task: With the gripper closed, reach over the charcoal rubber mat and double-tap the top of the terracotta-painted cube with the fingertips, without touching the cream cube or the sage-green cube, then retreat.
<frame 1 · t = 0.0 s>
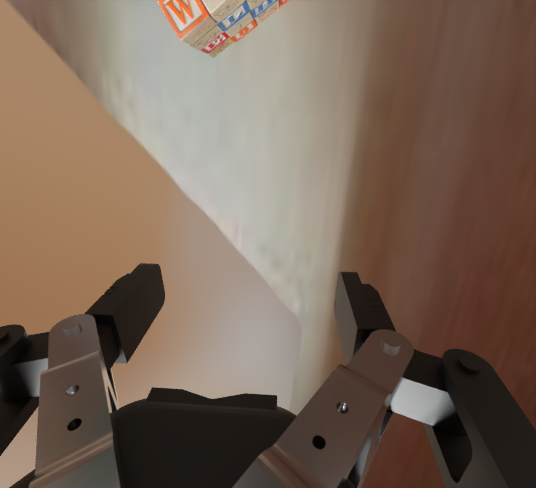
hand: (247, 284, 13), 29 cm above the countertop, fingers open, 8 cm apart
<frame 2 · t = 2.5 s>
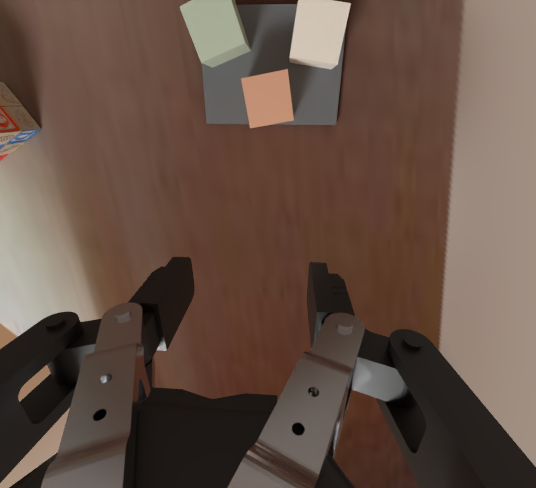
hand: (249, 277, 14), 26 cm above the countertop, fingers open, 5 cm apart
terracotta cube: (270, 100, 32), point 1 cm above the countertop, touching mat
mat: (285, 69, 32), on the countertop
cream cube: (315, 40, 30), point 1 cm above the countertop, touching mat
sage cube: (223, 35, 30), point 1 cm above the countertop, touching mat
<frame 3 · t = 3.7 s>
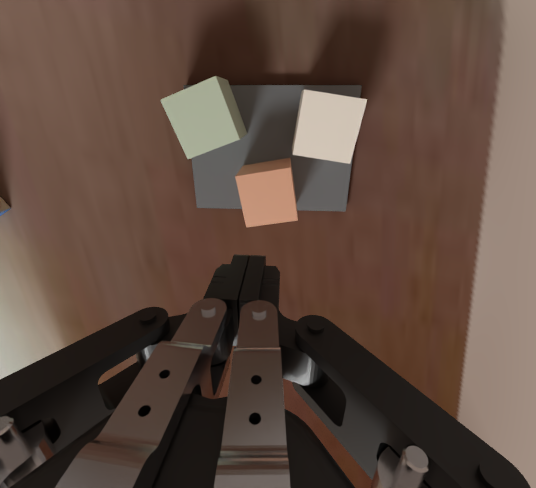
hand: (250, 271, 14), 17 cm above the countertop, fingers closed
terracotta cube: (270, 185, 28), point 1 cm above the countertop, touching mat
mat: (286, 151, 27), on the countertop
cream cube: (322, 124, 25), point 1 cm above the countertop, touching mat
sage cube: (214, 117, 26), point 1 cm above the countertop, touching mat
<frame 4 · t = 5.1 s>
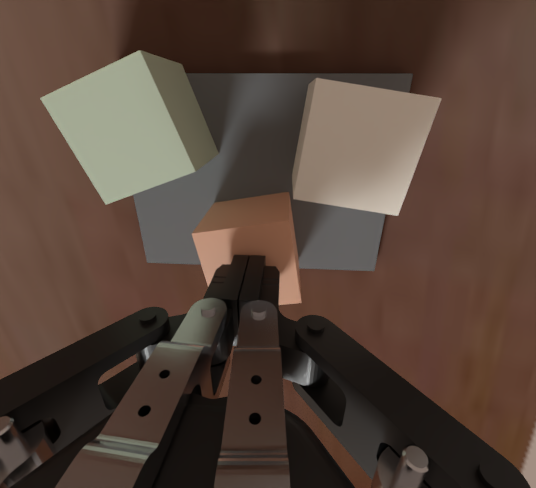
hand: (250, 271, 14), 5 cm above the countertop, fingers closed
terracotta cube: (257, 232, 18), point 1 cm above the countertop, touching gripper, mat
mat: (283, 181, 17), on the countertop
cream cube: (341, 139, 15), point 1 cm above the countertop, touching mat
sage cube: (164, 127, 16), point 1 cm above the countertop, touching mat
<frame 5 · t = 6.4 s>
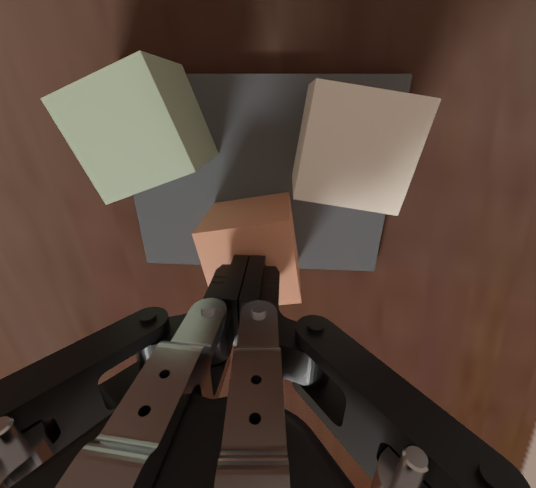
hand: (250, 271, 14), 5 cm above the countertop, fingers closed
terracotta cube: (257, 232, 18), point 1 cm above the countertop, touching gripper, mat
mat: (283, 181, 17), on the countertop
cream cube: (341, 139, 15), point 1 cm above the countertop, touching mat
sage cube: (164, 127, 16), point 1 cm above the countertop, touching mat
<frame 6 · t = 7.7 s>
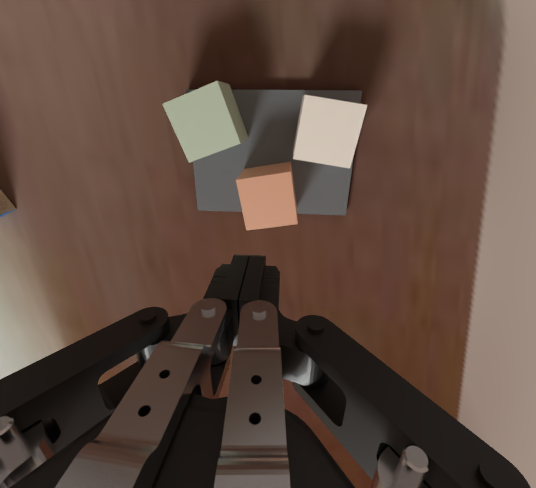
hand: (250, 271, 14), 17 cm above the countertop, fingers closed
terracotta cube: (270, 188, 28), point 1 cm above the countertop, touching mat
mat: (287, 155, 28), on the countertop
cream cube: (322, 128, 26), point 1 cm above the countertop, touching mat
sage cube: (216, 121, 26), point 1 cm above the countertop, touching mat
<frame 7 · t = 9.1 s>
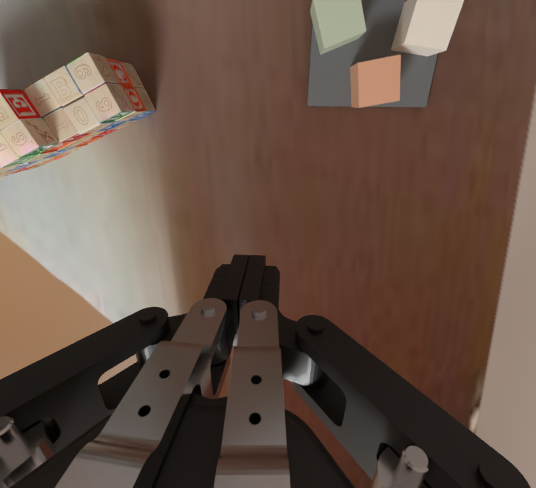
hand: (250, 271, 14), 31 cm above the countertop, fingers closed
terracotta cube: (369, 84, 36), point 1 cm above the countertop, touching mat
stack of blocks: (84, 119, 41), on the countertop
mat: (384, 56, 36), on the countertop
cream cube: (416, 30, 34), point 1 cm above the countertop, touching mat
sage cube: (334, 25, 34), point 1 cm above the countertop, touching mat
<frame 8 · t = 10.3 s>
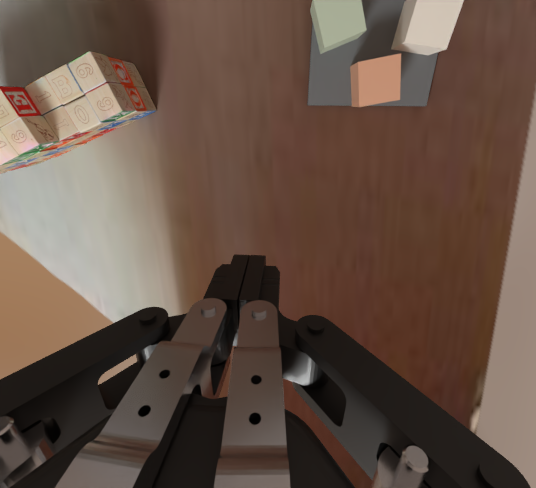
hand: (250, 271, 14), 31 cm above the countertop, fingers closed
terracotta cube: (369, 83, 36), point 1 cm above the countertop, touching mat
stack of blocks: (84, 117, 41), on the countertop
mat: (384, 56, 36), on the countertop
cream cube: (416, 29, 34), point 1 cm above the countertop, touching mat
sage cube: (334, 24, 34), point 1 cm above the countertop, touching mat
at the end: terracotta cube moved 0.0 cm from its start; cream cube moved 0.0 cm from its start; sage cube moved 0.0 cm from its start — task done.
